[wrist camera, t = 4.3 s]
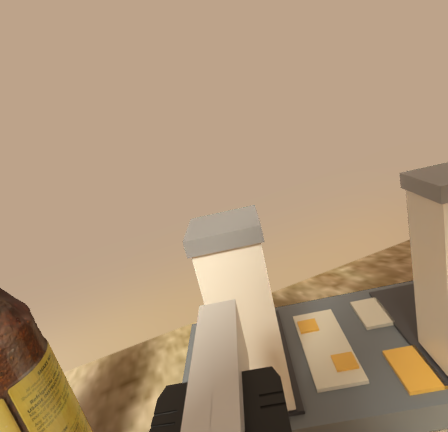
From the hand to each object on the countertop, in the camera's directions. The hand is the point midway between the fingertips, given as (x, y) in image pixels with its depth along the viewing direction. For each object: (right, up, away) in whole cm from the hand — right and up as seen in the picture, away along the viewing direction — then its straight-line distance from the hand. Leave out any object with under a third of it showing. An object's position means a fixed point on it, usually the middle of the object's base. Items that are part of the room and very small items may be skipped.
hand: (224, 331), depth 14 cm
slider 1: (+3, -8, +10) cm, 13 cm away
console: (+8, -8, +14) cm, 18 cm away
